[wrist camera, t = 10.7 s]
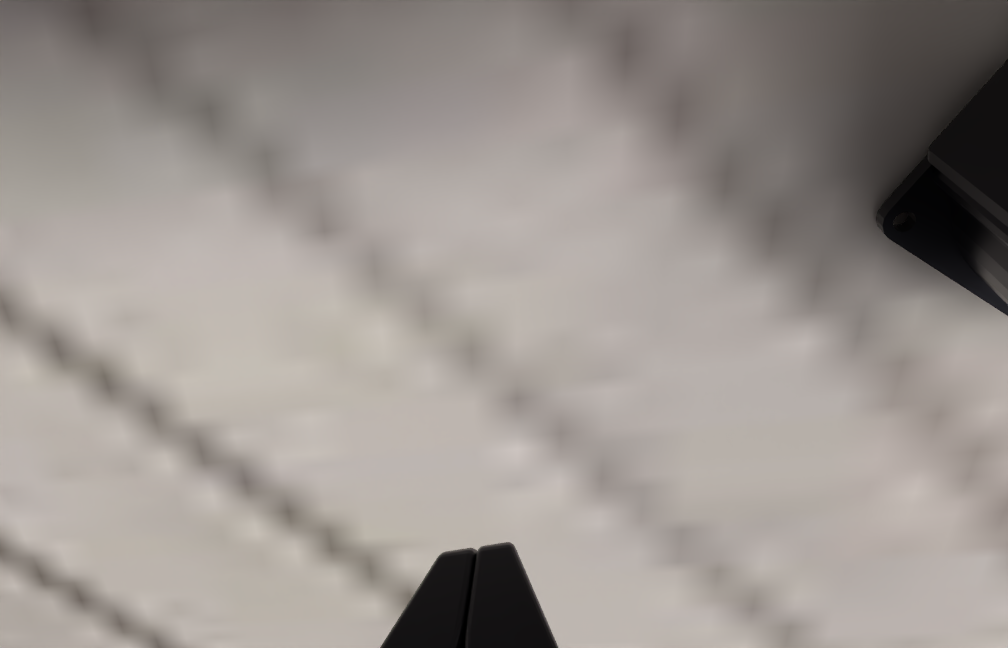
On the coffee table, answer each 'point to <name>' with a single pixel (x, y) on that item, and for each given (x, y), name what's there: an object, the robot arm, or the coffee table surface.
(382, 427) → the coffee table surface
